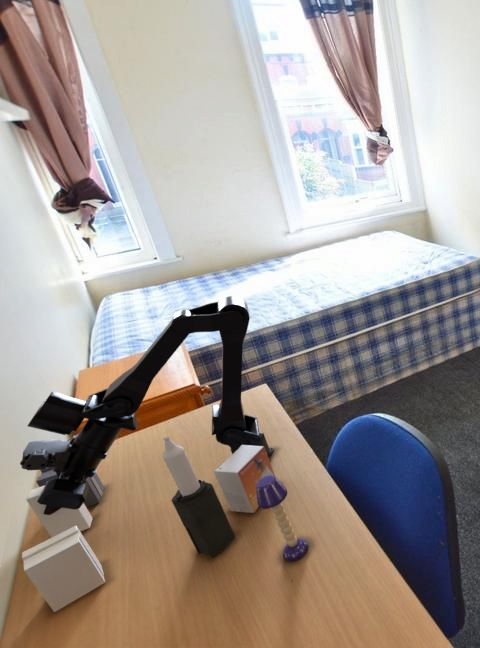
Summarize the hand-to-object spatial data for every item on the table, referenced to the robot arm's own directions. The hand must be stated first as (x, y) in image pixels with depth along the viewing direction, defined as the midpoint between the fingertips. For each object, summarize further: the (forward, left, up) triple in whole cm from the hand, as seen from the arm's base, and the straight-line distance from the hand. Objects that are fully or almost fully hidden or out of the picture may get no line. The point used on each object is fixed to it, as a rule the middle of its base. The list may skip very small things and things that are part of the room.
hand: (49, 508), depth 90 cm
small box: (-36, -5, -7) cm, 37 cm away
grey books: (+4, -8, -7) cm, 11 cm away
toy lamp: (-50, +9, -7) cm, 51 cm away
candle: (-34, +6, -7) cm, 35 cm away
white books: (-14, +13, -7) cm, 20 cm away
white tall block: (-1, -1, -7) cm, 7 cm away
